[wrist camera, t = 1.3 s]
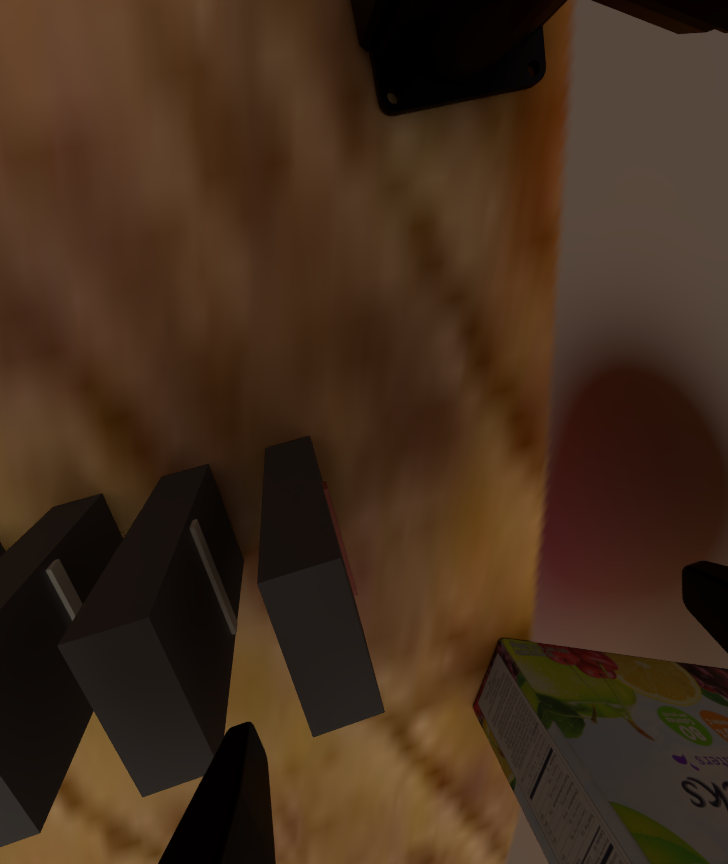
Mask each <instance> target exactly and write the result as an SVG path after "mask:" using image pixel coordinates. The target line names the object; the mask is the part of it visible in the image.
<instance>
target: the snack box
mask: <svg viewBox="0 0 728 864" xmlns="http://www.w3.org/2000/svg"><path fill="white" fill-rule="evenodd" d="M473 709H474V712H475V714H476V716H477V718H478V720H479V722H480V724H481V726H482V728H483V730H484V732H485V734H486V736H487V738H488V740H489V742H490V745H491V747H492V749H493V751H494V753H495V755H496V757H497V759H498V761H499V763H500V765H501V767H502V770H503V772H504V774H505V776H506V778H507V780H508V782H509V784H510V786H511V788H512V790H513V792H514V794H515V796H516V798H517V800H518V802H519V804H520V806H521V808H522V810H523V812H524V814H525V816H526V818H527V820H528V822H529V824H530V826H531V828H532V830H533V832H534V835H535V836H536V839H537V841H538V843H539V844H540V847H541V849H542V851H543V853H544V855H545V857H546V859H547V861H548V863H549V864H728V669H724V668H716V667H708V666H701V665H695V664H687V663H678V662H671V661H663V660H657V659H650V658H642V657H635V656H628V655H621V654H614V653H606V652H599V651H592V650H585V649H579V648H571V647H565V646H556V645H550V644H542V643H535V642H528V641H522V640H515V639H507V638H503V639H500V640H499V642H498V647H497V649H496V652H495V654H494V657H493V659H492V661H491V665H490V667H489V670H488V673H487V675H486V677H485V680H484V682H483V685H482V687H481V690H480V693H479V695H478V697H477V700H476V703H475V705H474V708H473Z"/></svg>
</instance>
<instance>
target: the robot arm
mask: <svg viewBox="0 0 728 864" xmlns="http://www.w3.org/2000/svg"><path fill="white" fill-rule="evenodd" d="M566 1H567V0H351V3H352V9H353V14H354V19H355V24H356V30H357V35H358V40H359V45H360V46H361V47H362V48H363V49H364V50H365V51H366V52H368V51H369V53H370V59H371V64H372V70H373V75H374V81H375V86H376V91H377V97H378V102H379V105H380V108H381V110H382V111H383V112H384V113H385V114H387V115H390V116H395V115H400V114H405V113H410V112H415V111H419V110H424V109H429V108H434V107H439V106H444V105H449V104H454V103H459V102H464V101H468V100H473V99H478V98H483V97H488V96H493V95H498V94H503V93H508V92H513V91H518V90H522V89H527V88H531V87H533V86H535V85H536V84H537V83H538V82H539V81H540V80H541V79H542V78H543V77H544V74H545V71H546V61H545V49H544V37H543V25H544V24H545V23H546V22H547V21H548V20H549V19H550V18H551V17H552V16H553V15H554V14H555V13H556V12H557V10H558V9H559V8H560V7H561V6H562V5H563V4H564V3H565V2H566ZM592 1H595V2H597V3H600V4H602V5H605V6H608V7H610V8H613V9H615V10H618V11H620V12H623V13H626V14H628V15H631V16H633V17H636V18H639V19H641V20H644V21H646V22H648V23H651V24H654V25H656V26H659V27H661V28H664V29H667V30H669V31H672V32H674V33H677V34H687V33H702V32H708V31H711V30H713V29H716V30H718V31H721V32H723V33H728V0H592ZM528 65H531V66H532V67H533V69H534V76H531V75H530V74H529V73H528V70H527V67H528ZM389 92H394V93H395V94H396V95H397V97H398V103H397V104H392V103H391V102H389V100H388V98H387V94H388V93H389ZM682 597H683V602H684V604H685V606H686V607H687V609H688V610H689V612H690V613H691V614H692V615H693V616H694V617H695V618H696V619H697V621H698V622H699V623H700V624H701V625H702V626H703V627H704V628H705V629H706V630H707V631H708V632H709V634H710V635H711V636H712V637H713V638H714V639H715V640H716V641H717V642H718V643H719V644H720V645H721V647H722V648H723V649H724V650H725V651H726V652H727V653H728V566H724V565H720V564H716V563H712V562H709V561H698V562H695V563H692V564H689V565H687V566H685V567H684V568H683V570H682ZM158 864H276V863H275V848H274V835H273V822H272V809H271V796H270V784H269V771H268V762H267V756H266V753H265V750H264V748H263V745H262V743H261V741H260V738H259V736H258V734H257V732H256V729H255V727H254V725H253V724H252V723H251V722H245V723H242V724H239V725H237V726H234V727H231V728H230V729H229V730H228V731H227V732H226V734H225V736H224V738H223V740H222V742H221V744H220V746H219V748H218V749H217V751H216V753H215V755H214V757H213V759H212V761H211V763H210V765H209V767H208V769H207V771H206V773H205V774H204V776H203V778H202V780H201V782H200V784H199V786H198V788H197V790H196V792H195V794H194V796H193V798H192V799H191V801H190V803H189V805H188V807H187V809H186V811H185V813H184V815H183V817H182V819H181V821H180V823H179V824H178V826H177V828H176V830H175V832H174V834H173V836H172V838H171V840H170V842H169V844H168V846H167V848H166V849H165V851H164V853H163V855H162V857H161V859H160V861H159V863H158Z"/></svg>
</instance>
